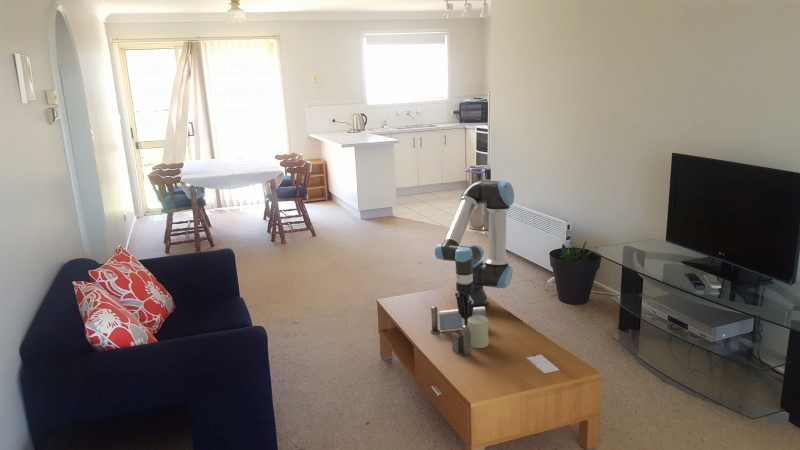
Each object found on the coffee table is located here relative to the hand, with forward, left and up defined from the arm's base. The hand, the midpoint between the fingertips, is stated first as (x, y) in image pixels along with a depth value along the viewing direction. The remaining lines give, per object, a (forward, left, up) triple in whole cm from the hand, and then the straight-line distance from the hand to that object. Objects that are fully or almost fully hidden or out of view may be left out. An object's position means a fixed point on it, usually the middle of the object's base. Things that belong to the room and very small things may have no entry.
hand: (465, 330), depth 266 cm
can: (0, +10, -3) cm, 10 cm away
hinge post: (+10, -11, -3) cm, 15 cm away
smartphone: (-11, +40, -3) cm, 42 cm away
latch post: (+11, +13, -3) cm, 17 cm away
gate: (-3, -7, -2) cm, 7 cm away
